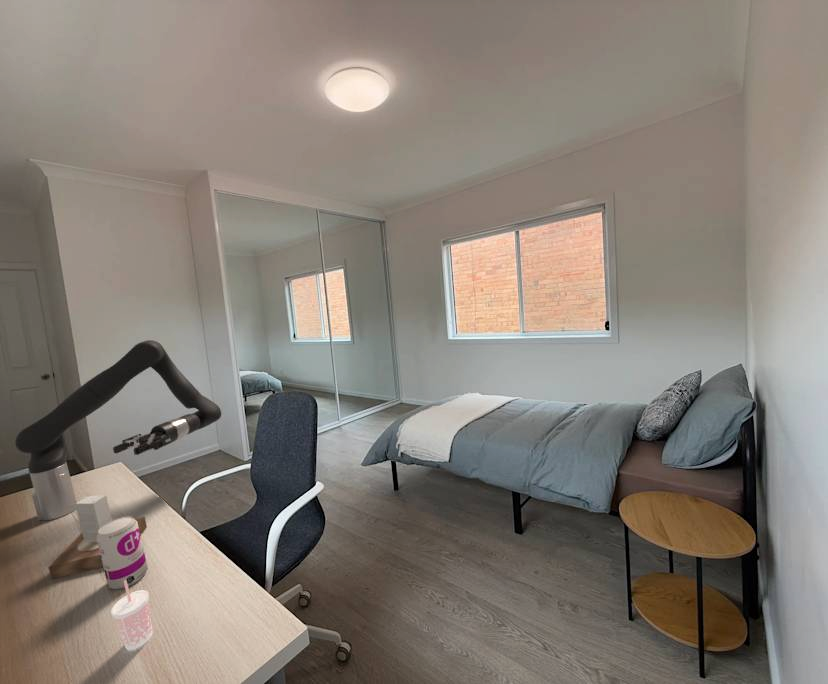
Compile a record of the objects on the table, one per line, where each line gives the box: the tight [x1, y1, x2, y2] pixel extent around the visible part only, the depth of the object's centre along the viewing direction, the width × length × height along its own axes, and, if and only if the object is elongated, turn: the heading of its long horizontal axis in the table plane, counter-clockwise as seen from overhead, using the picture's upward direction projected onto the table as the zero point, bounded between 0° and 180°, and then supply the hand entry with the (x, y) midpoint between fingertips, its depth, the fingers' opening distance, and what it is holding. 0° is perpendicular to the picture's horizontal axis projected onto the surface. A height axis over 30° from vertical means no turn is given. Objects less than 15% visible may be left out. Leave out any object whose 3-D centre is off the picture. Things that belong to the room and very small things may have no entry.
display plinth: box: [48, 516, 148, 580], centre depth 107 cm, size 16×16×4 cm
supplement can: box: [97, 515, 149, 590], centre depth 94 cm, size 8×8×15 cm
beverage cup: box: [111, 580, 154, 651], centre depth 76 cm, size 6×6×14 cm
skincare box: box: [75, 494, 113, 542], centre depth 106 cm, size 6×4×12 cm
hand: (124, 451), depth 116 cm, fingers open, 8 cm apart
